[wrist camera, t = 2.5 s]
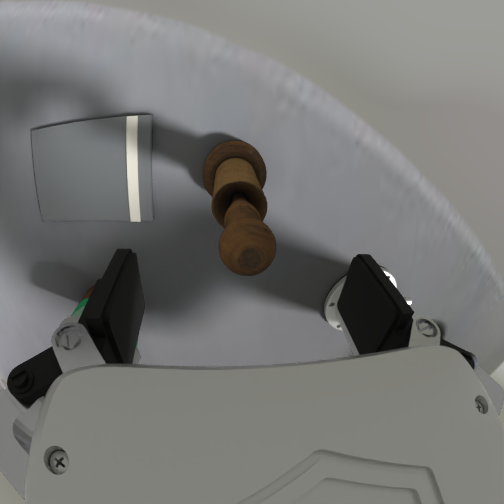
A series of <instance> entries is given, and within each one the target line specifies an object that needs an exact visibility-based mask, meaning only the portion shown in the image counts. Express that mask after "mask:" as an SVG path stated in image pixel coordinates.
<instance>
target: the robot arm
mask: <svg viewBox="0 0 504 504" xmlns="http://www.w3.org/2000/svg"><path fill="white" fill-rule="evenodd" d="M411 303H412V299H411V298H410V297H403V296H402V295H401V294H400V292H399V291H398V290H397V283H396V280H395V278H394V277H393V275H392V274H391V273H390V272H389V271H388V270H386V269H385V268H382V267H380V266H379V265H378V264H377V263H376V261H375V260H374V259H373V258H372V256H371V255H369V254H358V255H357V256H356V257H354V258H353V260H352V262H351V265H350V268H349V271H348V274H347V275H346V276H345V277H343V278H342V279H341V280H340V281H339V282H338V283H337V284H336V285H335V286H334V287H333V288H332V289H331V291H330V292H329V294H328V296H327V298H326V301H325V305H324V314H325V317H326V319H327V321H328V323H329V324H330V325H331V326H332V327H333V328H335V329H338V330H342V331H343V332H344V334H345V337H346V339H347V341H348V343H349V346H350V348H351V350H352V352H353V354H354V356H351V357H344V358H336V359H328V360H319V361H310V362H299V363H287V364H273V365H255V366H164V365H144V364H132V363H133V358H134V353H135V349H136V344H137V339H138V335H139V330H140V326H141V322H142V317H143V313H144V306H145V305H144V298H143V293H142V287H141V281H140V275H139V269H138V262H137V256H136V253H132V250H131V249H117V250H116V252H115V254H114V256H113V258H112V260H111V262H110V264H109V266H108V268H107V270H106V272H105V274H104V276H103V278H102V279H99V280H98V281H97V282H96V284H95V286H94V288H93V290H92V292H91V294H90V297H89V299H88V301H87V303H86V305H85V307H84V310H83V312H82V314H81V316H80V319H79V321H78V323H76V322H70V323H66V324H63V325H61V326H60V327H58V328H57V329H56V330H55V332H54V333H53V335H52V339H51V343H52V347H50V348H48V349H47V350H45V351H43V352H41V353H40V354H38V355H36V356H34V357H32V358H31V359H29V360H27V361H25V362H24V363H22V364H20V365H18V366H17V367H15V368H14V369H13V370H12V371H11V372H10V374H9V376H8V380H7V386H8V387H7V388H6V389H5V390H4V389H3V388H2V389H1V390H0V471H1V472H2V473H3V475H4V476H5V477H6V478H7V480H8V481H9V482H10V484H11V485H12V486H13V487H14V488H15V490H16V491H17V492H18V493H19V494H20V495H21V497H22V498H23V499H24V500H25V504H504V427H503V425H502V422H501V420H500V418H499V415H500V412H501V409H502V405H503V402H504V390H503V388H502V387H501V386H500V385H499V384H498V383H497V382H496V381H495V380H493V379H492V378H491V377H490V376H489V375H488V374H486V373H485V372H484V371H483V370H482V369H480V368H479V367H478V366H477V367H476V368H475V362H474V360H473V358H472V356H471V354H470V353H469V352H467V351H465V350H463V349H461V348H459V347H457V346H455V345H453V344H451V343H449V342H447V341H445V340H443V339H441V338H440V329H439V327H438V326H437V324H436V323H435V322H434V321H432V320H431V319H429V318H427V317H423V316H419V317H416V318H415V319H414V320H413V318H412V315H413V313H414V311H413V310H412V309H411V307H410V306H409V305H410V304H411Z"/></svg>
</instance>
